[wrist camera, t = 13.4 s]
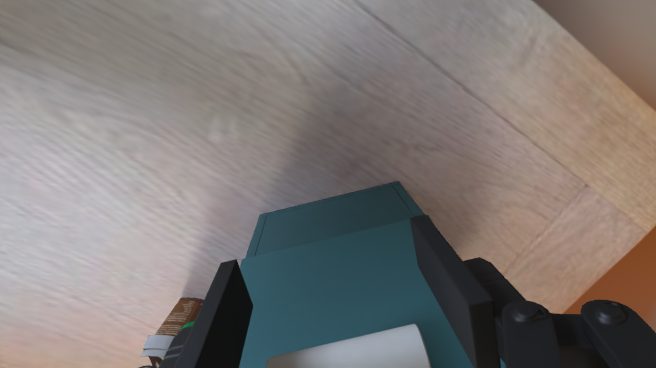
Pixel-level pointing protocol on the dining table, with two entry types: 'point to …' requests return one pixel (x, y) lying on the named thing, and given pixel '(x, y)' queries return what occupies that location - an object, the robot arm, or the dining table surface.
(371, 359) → the lid
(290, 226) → the chest
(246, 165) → the dining table surface
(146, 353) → the food container
